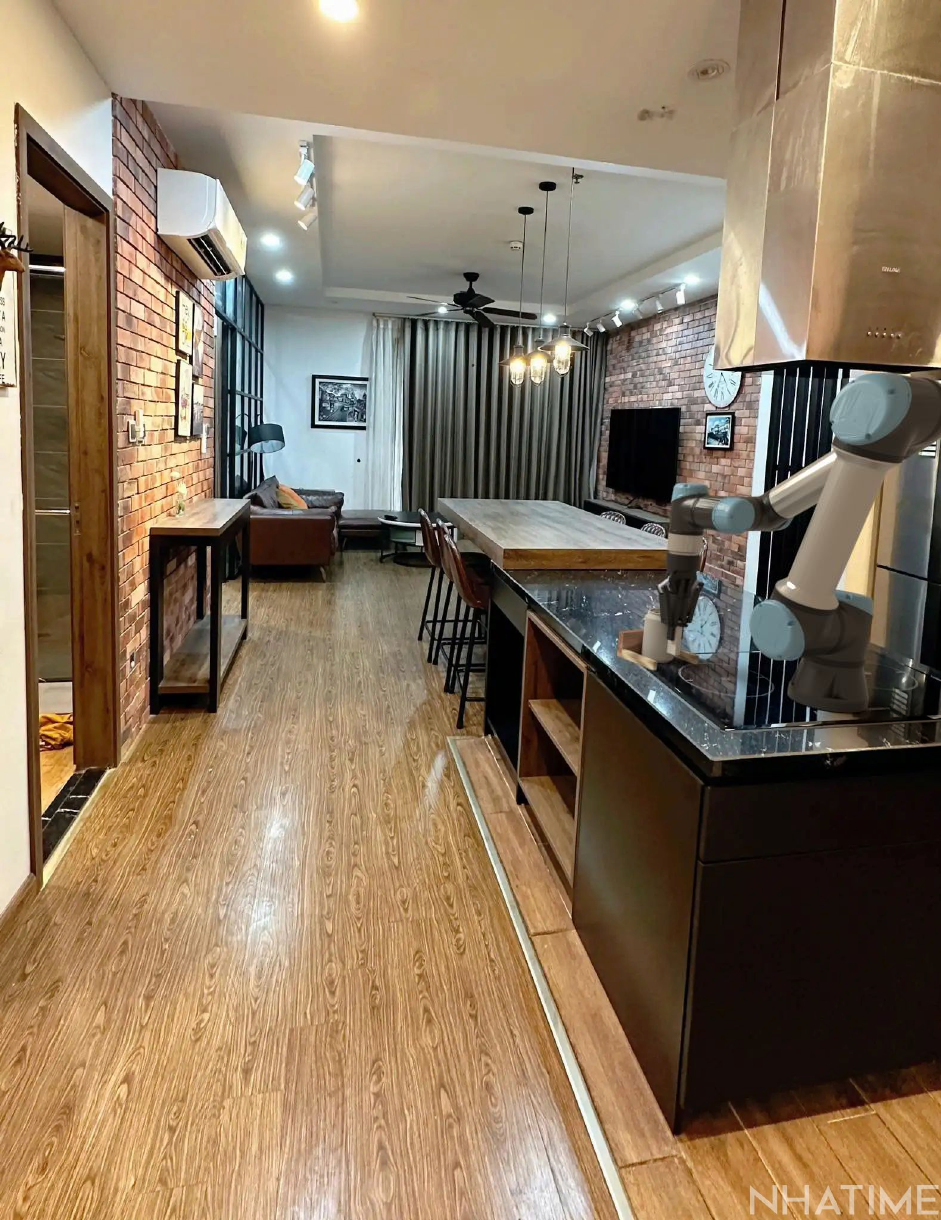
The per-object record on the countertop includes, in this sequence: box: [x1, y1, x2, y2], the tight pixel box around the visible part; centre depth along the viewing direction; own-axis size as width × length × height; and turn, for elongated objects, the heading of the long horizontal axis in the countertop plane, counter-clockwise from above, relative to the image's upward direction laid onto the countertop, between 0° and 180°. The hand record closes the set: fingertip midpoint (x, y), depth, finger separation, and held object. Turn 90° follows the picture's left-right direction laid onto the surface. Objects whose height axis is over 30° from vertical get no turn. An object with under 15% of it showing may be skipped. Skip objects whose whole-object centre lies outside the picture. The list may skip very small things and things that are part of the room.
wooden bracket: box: [616, 628, 700, 671], centre depth 182 cm, size 12×14×6 cm
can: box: [642, 607, 675, 664], centre depth 182 cm, size 8×8×12 cm
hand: (673, 653), depth 178 cm, fingers closed
